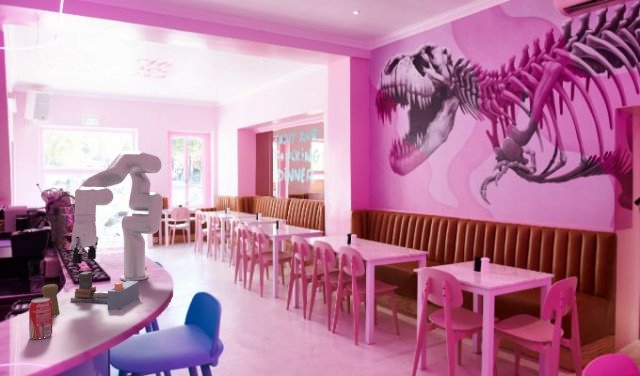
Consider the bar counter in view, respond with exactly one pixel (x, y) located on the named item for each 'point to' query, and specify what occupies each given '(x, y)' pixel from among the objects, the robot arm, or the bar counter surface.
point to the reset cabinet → (123, 295)
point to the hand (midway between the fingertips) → (84, 261)
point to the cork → (51, 297)
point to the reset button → (118, 286)
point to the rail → (93, 298)
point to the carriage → (85, 285)
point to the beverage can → (40, 318)
